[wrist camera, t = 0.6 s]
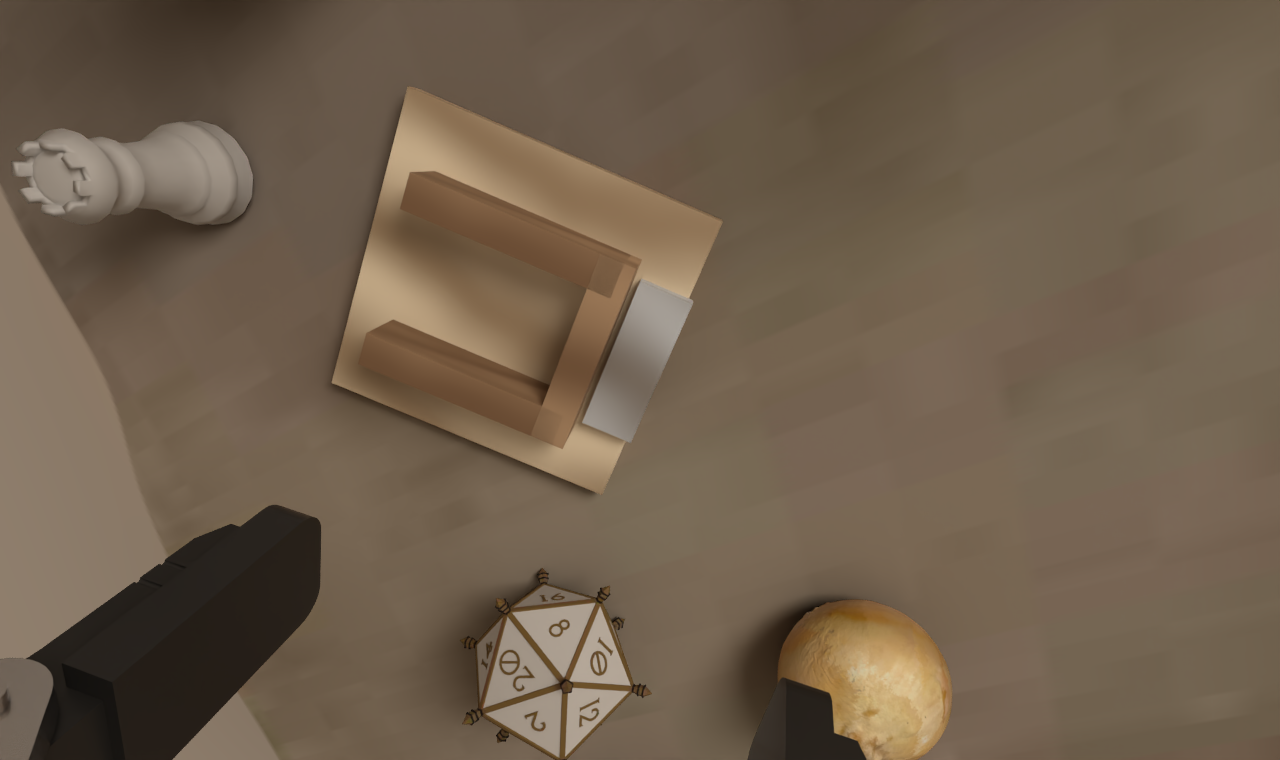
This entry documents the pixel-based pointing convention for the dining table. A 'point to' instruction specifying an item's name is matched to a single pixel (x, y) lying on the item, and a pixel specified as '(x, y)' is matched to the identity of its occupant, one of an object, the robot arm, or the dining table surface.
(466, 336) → the cradle jig
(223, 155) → the rook chess piece
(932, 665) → the onion
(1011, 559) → the dining table surface
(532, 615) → the game die
